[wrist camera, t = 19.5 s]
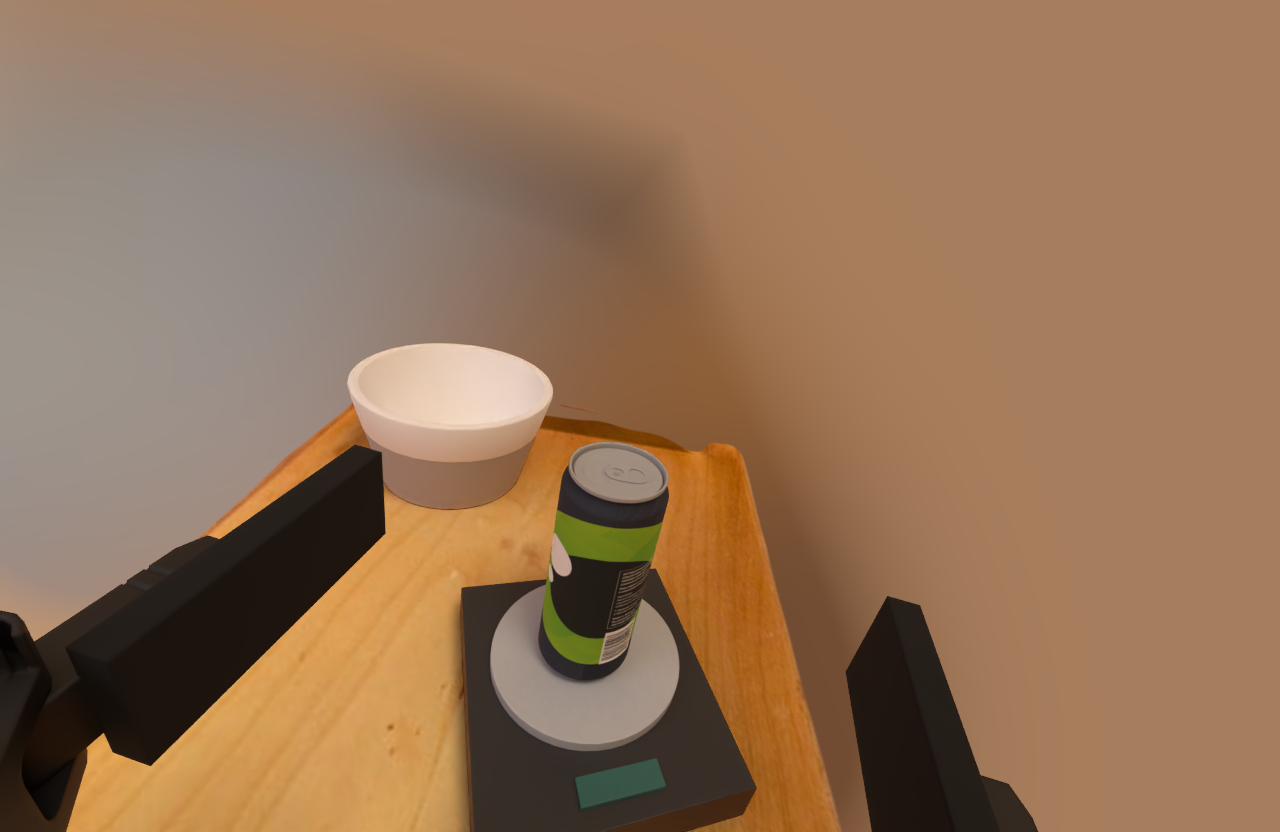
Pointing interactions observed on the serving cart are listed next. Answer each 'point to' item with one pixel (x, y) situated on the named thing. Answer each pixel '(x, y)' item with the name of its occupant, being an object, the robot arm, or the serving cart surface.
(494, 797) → the scale
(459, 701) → the serving cart surface
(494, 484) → the bowl
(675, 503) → the serving cart surface
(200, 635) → the robot arm
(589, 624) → the beverage can
